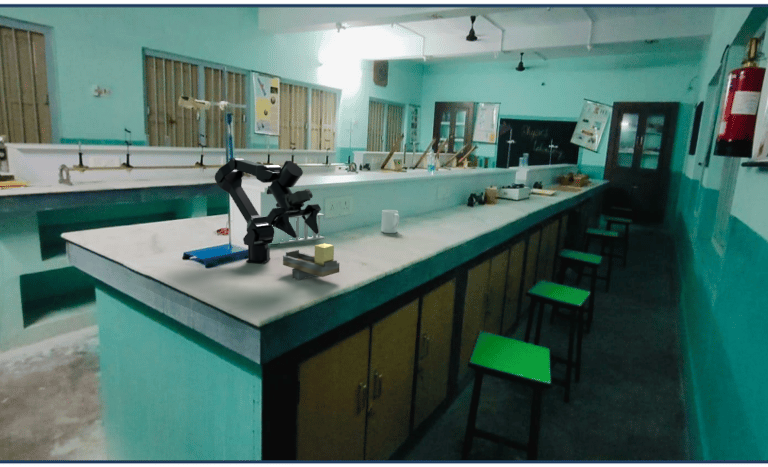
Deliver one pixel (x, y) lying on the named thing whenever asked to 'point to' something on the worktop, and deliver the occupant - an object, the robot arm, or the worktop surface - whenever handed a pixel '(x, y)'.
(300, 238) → the test tube rack
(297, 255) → the grey open tray
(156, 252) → the worktop surface
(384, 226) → the mug
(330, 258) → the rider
